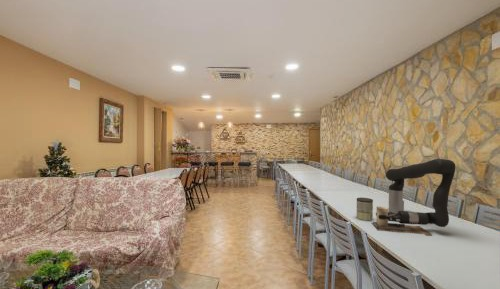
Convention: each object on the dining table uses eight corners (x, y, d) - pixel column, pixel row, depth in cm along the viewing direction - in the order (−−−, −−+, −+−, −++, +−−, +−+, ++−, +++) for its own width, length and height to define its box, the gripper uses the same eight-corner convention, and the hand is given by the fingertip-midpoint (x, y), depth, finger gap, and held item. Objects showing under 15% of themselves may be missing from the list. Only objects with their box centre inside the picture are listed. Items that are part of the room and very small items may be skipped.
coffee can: (354, 217, 175) (354, 197, 174) (369, 217, 174) (369, 197, 173) (359, 221, 164) (359, 200, 164) (375, 222, 163) (375, 201, 163)
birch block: (385, 226, 154) (385, 206, 154) (387, 228, 149) (388, 209, 149) (376, 225, 155) (376, 206, 155) (378, 228, 150) (379, 208, 150)
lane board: (419, 227, 154) (419, 223, 154) (432, 235, 140) (432, 232, 140) (370, 223, 160) (370, 220, 160) (377, 231, 146) (377, 228, 146)
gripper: (403, 208, 156) (374, 206, 159) (413, 214, 142) (381, 212, 145) (402, 220, 156) (374, 218, 160) (412, 227, 142) (381, 225, 145)
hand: (377, 215), depth 152 cm, fingers open, 5 cm apart
